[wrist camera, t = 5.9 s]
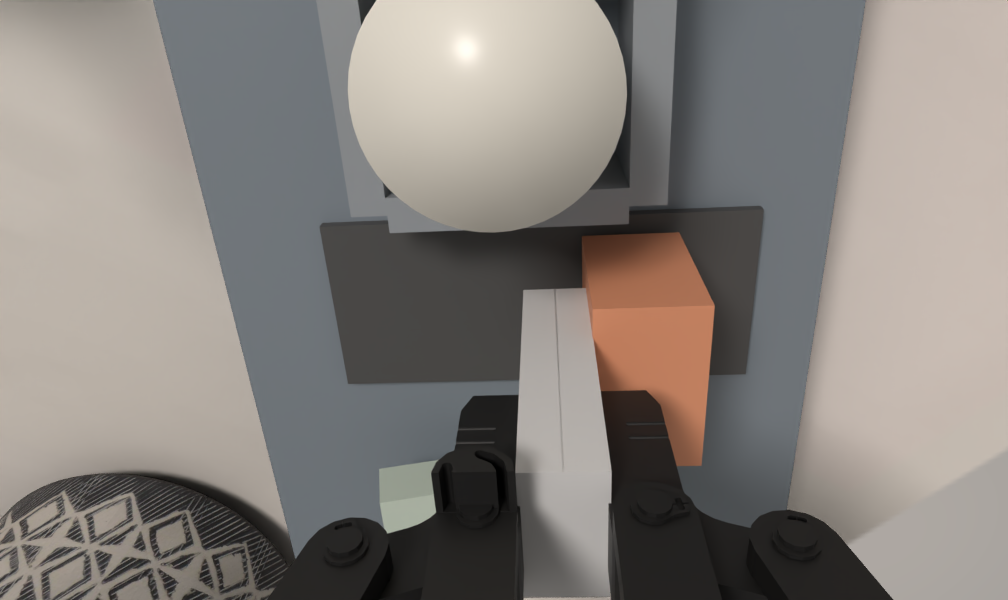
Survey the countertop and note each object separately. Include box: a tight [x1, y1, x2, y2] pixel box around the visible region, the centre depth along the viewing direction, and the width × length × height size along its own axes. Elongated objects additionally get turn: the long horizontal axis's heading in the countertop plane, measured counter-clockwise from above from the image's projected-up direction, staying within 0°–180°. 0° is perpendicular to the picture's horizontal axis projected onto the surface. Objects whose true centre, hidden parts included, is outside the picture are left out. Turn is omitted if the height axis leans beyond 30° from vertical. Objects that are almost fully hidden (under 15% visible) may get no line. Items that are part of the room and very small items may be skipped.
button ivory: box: [348, 0, 627, 233], centre depth 12 cm, size 4×4×4 cm
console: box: [153, 0, 866, 559], centre depth 18 cm, size 16×28×7 cm, turn 3°
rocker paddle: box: [379, 460, 438, 533], centre depth 21 cm, size 8×4×1 cm, turn 93°
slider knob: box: [582, 232, 715, 466], centre depth 17 cm, size 2×4×4 cm, turn 3°
